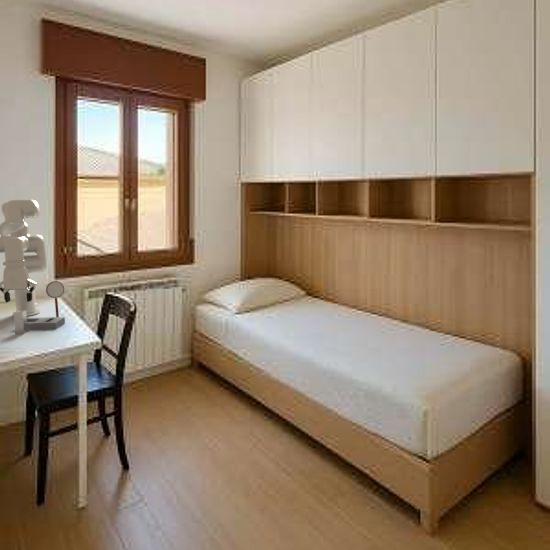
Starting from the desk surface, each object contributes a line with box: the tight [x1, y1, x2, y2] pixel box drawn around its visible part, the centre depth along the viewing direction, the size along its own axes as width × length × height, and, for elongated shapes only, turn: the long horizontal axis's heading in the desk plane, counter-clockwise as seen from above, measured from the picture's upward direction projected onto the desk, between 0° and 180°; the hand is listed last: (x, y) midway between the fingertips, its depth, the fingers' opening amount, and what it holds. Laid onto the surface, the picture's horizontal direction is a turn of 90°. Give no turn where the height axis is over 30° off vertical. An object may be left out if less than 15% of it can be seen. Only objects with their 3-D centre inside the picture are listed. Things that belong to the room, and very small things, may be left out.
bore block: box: [27, 316, 66, 330], centre depth 236 cm, size 11×19×3 cm, turn 93°
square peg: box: [12, 311, 29, 335], centre depth 224 cm, size 4×4×10 cm
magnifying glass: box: [45, 280, 65, 317], centre depth 247 cm, size 9×2×20 cm, turn 126°
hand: (18, 301), depth 222 cm, fingers open, 9 cm apart
